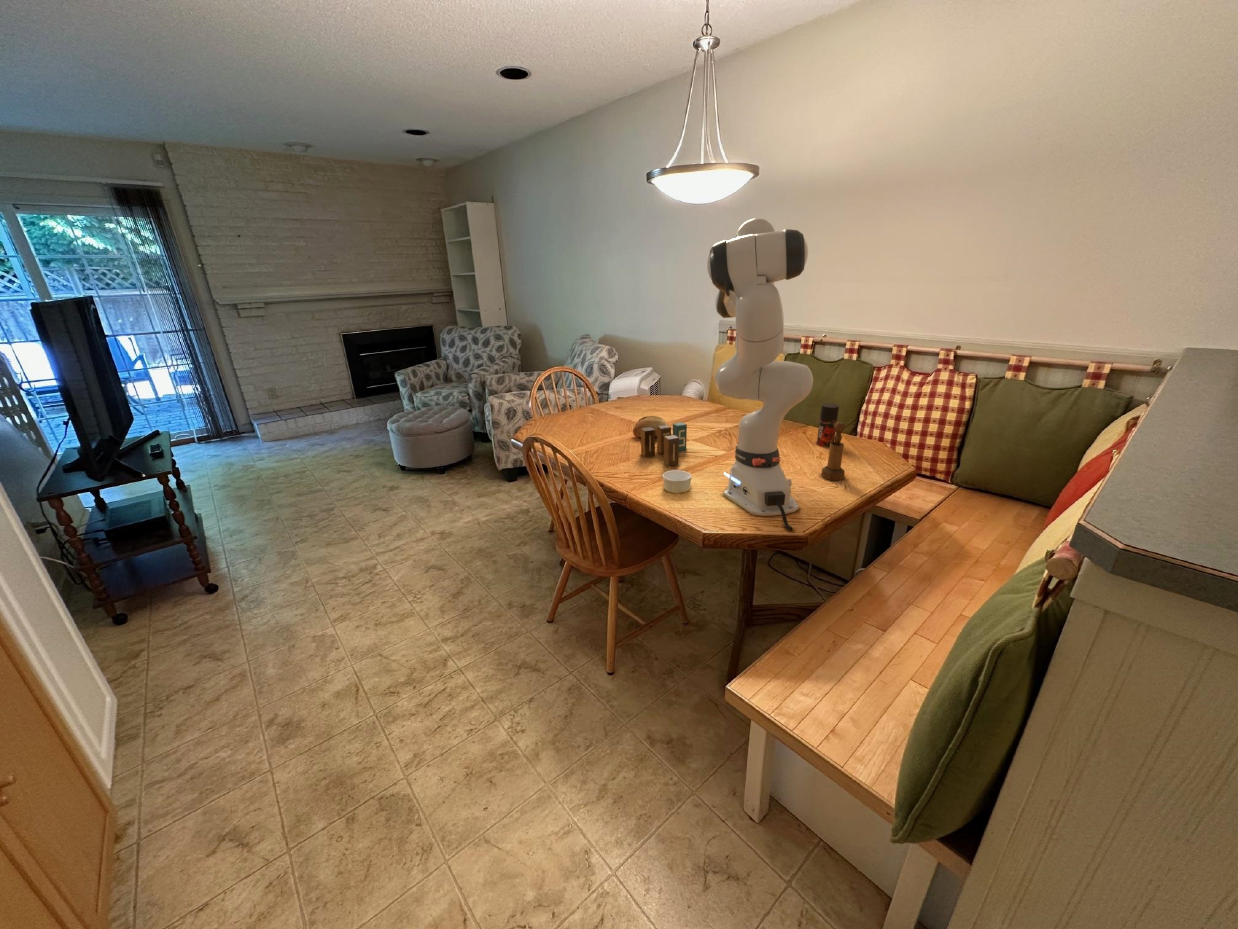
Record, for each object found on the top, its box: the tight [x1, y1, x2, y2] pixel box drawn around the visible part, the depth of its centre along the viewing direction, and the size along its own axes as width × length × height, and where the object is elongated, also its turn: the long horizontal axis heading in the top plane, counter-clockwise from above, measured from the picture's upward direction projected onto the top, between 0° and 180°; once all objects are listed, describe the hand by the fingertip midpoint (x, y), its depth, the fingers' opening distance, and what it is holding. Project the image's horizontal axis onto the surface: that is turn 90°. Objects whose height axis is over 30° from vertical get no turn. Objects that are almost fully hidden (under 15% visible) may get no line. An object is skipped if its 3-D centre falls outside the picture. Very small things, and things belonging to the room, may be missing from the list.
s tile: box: [672, 421, 688, 452], centre depth 178 cm, size 4×4×10 cm
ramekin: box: [662, 469, 693, 494], centre depth 146 cm, size 9×9×4 cm
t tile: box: [656, 424, 672, 455], centre depth 175 cm, size 4×4×10 cm
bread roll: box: [632, 415, 668, 438], centre depth 194 cm, size 10×15×8 cm, turn 97°
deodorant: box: [816, 402, 840, 448], centre depth 177 cm, size 6×6×15 cm
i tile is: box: [663, 434, 680, 468], centre depth 164 cm, size 4×4×10 cm
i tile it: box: [640, 427, 656, 458], centre depth 173 cm, size 4×4×10 cm
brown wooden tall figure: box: [820, 421, 846, 481], centre depth 148 cm, size 7×6×18 cm
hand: (754, 366), depth 163 cm, fingers open, 8 cm apart
